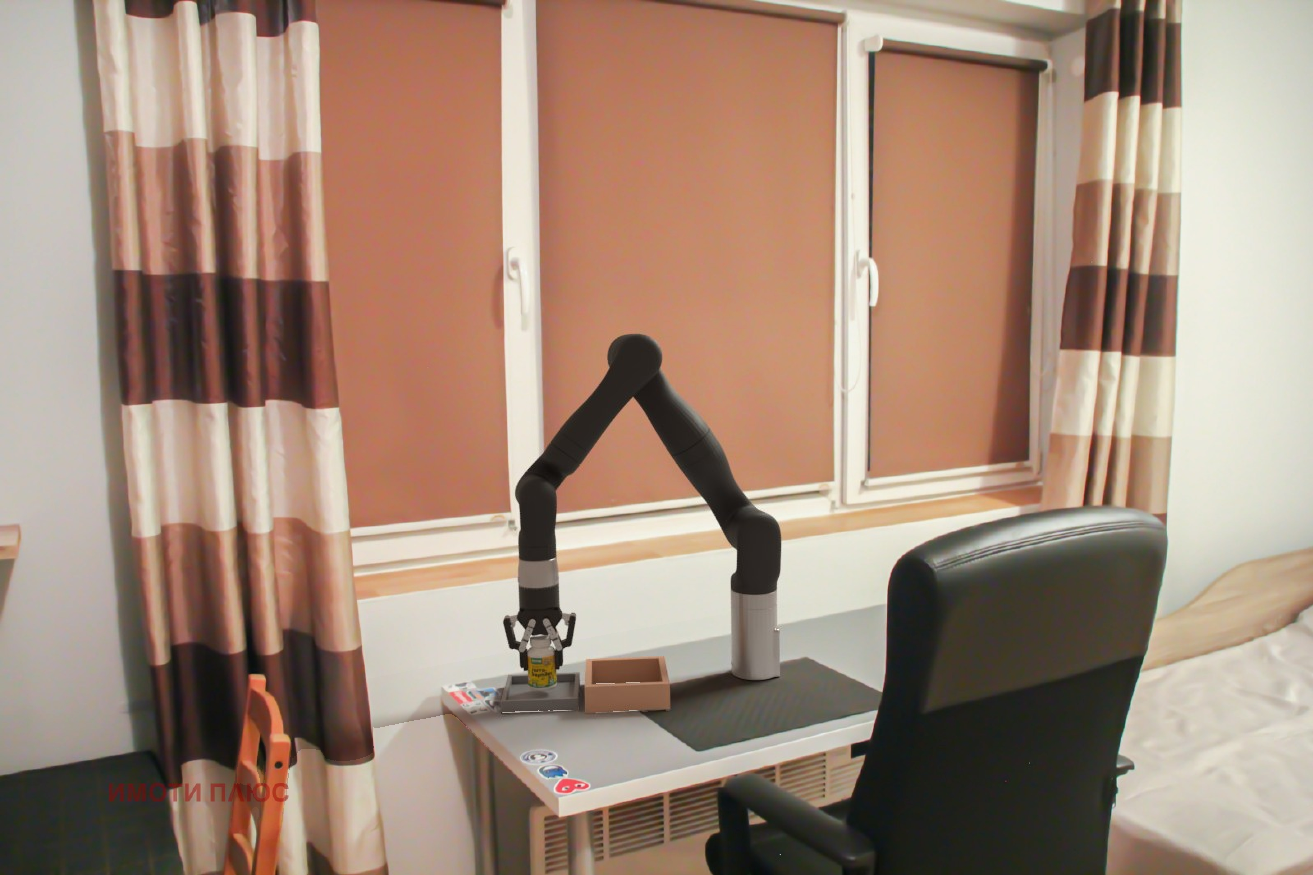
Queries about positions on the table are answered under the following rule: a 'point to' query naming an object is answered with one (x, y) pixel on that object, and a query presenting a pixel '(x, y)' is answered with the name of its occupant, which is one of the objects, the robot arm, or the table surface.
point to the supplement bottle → (541, 664)
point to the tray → (541, 694)
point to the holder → (626, 684)
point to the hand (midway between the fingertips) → (541, 668)
